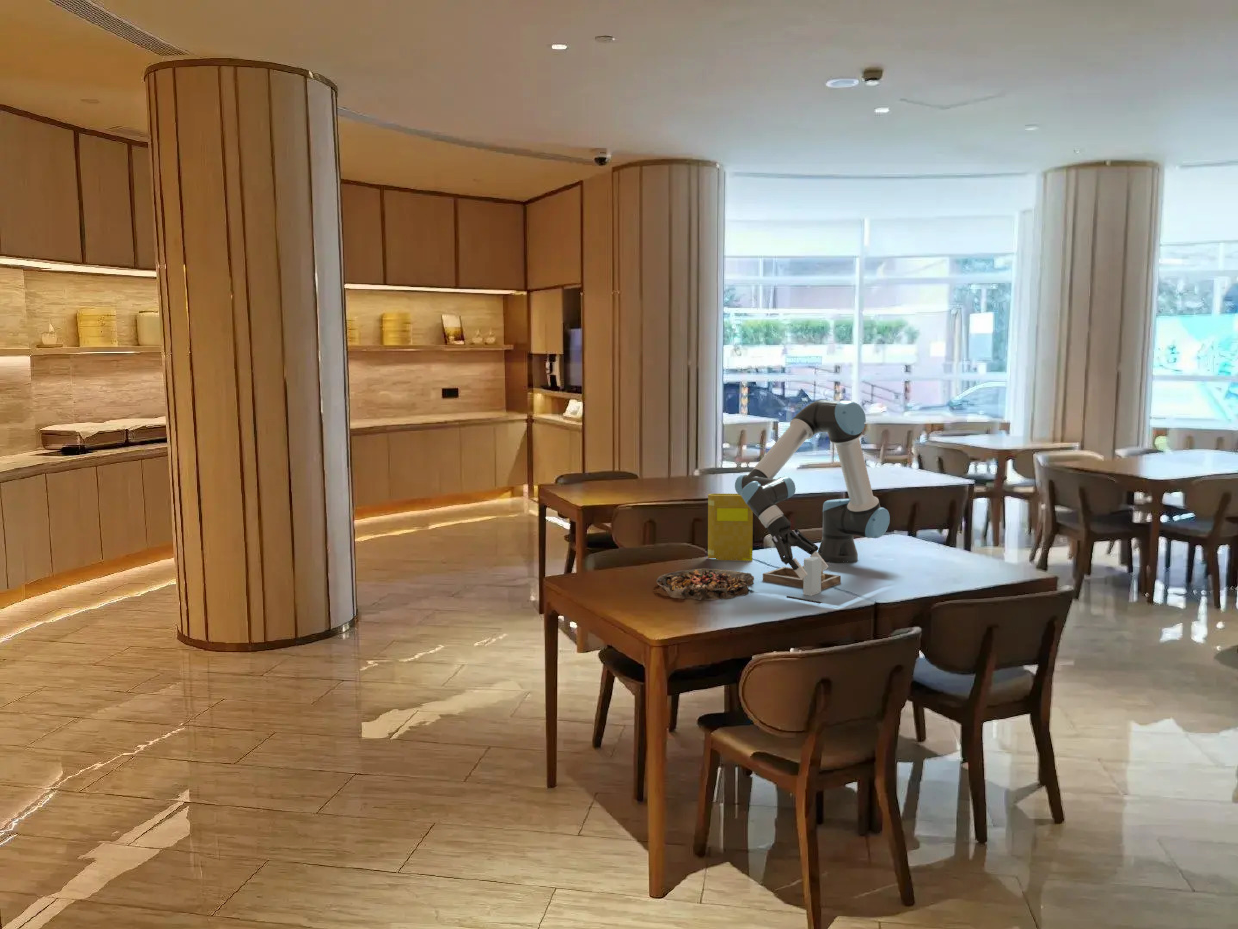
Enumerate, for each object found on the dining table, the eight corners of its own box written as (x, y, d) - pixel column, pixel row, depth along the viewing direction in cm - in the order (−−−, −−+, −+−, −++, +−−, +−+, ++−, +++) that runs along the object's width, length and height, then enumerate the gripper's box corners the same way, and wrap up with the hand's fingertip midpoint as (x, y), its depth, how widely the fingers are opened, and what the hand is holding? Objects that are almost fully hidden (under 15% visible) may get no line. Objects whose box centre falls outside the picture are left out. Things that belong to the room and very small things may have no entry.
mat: (805, 590, 319) (805, 588, 319) (837, 596, 311) (838, 594, 311) (786, 597, 310) (786, 595, 310) (819, 603, 302) (819, 601, 302)
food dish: (697, 610, 300) (696, 586, 299) (636, 591, 327) (635, 569, 326) (780, 591, 319) (779, 568, 318) (716, 574, 347) (715, 553, 346)
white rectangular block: (812, 592, 314) (813, 556, 312) (820, 593, 312) (821, 557, 310) (803, 596, 309) (803, 559, 308) (811, 597, 307) (812, 560, 306)
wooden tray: (784, 576, 339) (784, 566, 339) (840, 586, 325) (840, 575, 324) (762, 583, 329) (762, 573, 328) (819, 593, 314) (820, 583, 314)
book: (751, 557, 372) (752, 493, 369) (752, 561, 366) (752, 496, 363) (707, 556, 374) (708, 493, 371) (707, 560, 367) (708, 495, 364)
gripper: (787, 523, 328) (826, 572, 320) (747, 534, 309) (787, 587, 302) (801, 510, 324) (841, 559, 316) (761, 520, 305) (803, 573, 297)
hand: (815, 573), depth 309 cm, fingers open, 13 cm apart
